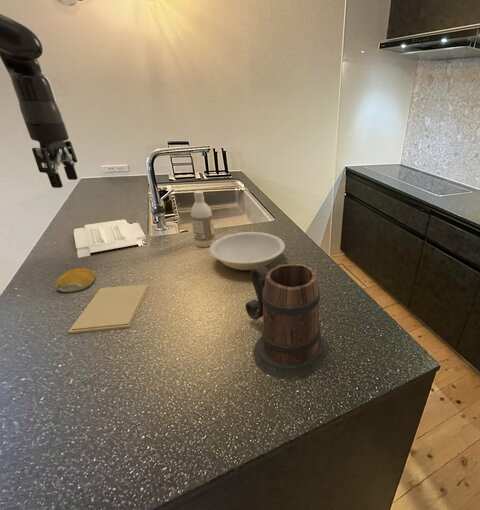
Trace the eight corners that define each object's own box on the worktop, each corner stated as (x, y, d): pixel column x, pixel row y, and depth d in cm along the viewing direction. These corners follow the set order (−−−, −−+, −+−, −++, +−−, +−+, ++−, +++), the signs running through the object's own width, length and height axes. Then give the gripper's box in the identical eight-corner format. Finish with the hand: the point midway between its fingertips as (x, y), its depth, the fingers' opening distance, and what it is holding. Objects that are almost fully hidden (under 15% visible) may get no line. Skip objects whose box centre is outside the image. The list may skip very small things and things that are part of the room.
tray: (78, 258, 99) (74, 247, 97) (74, 231, 118) (70, 222, 116) (149, 244, 111) (147, 235, 109) (135, 222, 130) (133, 214, 128)
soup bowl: (267, 243, 119) (266, 227, 116) (297, 270, 103) (297, 252, 100) (202, 256, 106) (200, 239, 103) (225, 289, 89) (223, 270, 86)
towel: (68, 334, 69) (67, 330, 69) (100, 290, 85) (99, 287, 84) (128, 327, 72) (128, 324, 72) (149, 286, 88) (148, 283, 87)
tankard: (342, 347, 72) (349, 274, 63) (290, 393, 60) (290, 311, 51) (275, 305, 84) (273, 240, 75) (220, 336, 72) (210, 263, 63)
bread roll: (99, 274, 91) (95, 262, 90) (89, 290, 84) (85, 278, 82) (64, 277, 88) (60, 265, 87) (52, 294, 81) (46, 282, 79)
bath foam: (213, 247, 112) (207, 194, 103) (193, 247, 111) (185, 194, 102) (216, 239, 119) (210, 189, 109) (197, 239, 117) (190, 188, 108)
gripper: (42, 117, 83) (62, 177, 90) (7, 121, 71) (34, 190, 78) (75, 119, 85) (92, 177, 92) (46, 123, 73) (69, 190, 80)
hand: (65, 183), depth 85 cm, fingers open, 8 cm apart
